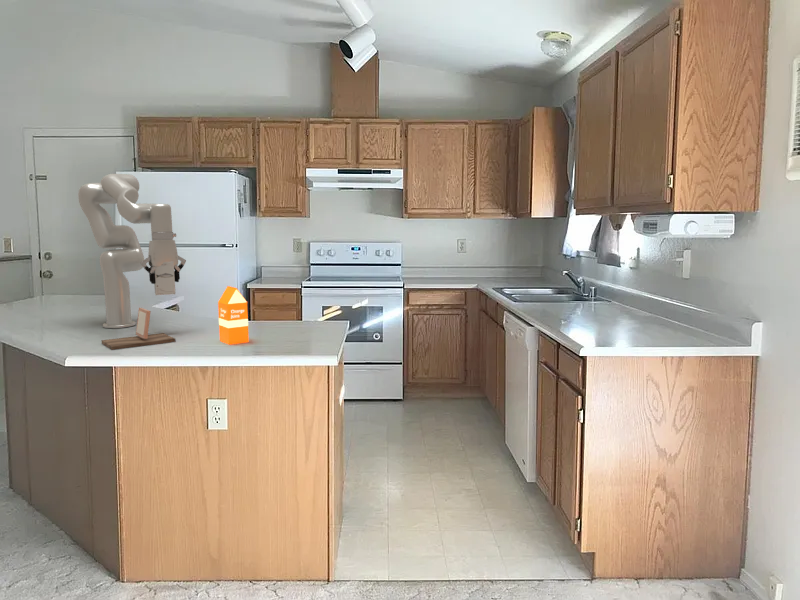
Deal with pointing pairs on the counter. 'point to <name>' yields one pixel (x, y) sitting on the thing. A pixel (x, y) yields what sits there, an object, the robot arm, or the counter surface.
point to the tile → (143, 323)
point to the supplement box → (164, 279)
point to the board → (137, 341)
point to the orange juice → (233, 317)
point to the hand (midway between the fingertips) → (165, 282)
